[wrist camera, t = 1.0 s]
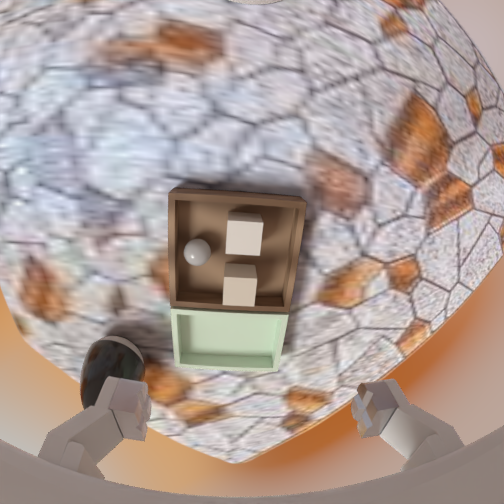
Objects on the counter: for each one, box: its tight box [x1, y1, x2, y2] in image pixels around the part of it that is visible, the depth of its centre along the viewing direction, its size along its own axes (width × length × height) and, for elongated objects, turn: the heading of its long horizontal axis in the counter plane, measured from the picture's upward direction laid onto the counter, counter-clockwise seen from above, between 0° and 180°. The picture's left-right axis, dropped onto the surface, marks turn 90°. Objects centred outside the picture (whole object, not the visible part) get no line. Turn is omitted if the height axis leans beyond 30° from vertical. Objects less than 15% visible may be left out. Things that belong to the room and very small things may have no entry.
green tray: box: [171, 306, 289, 371], centre depth 42 cm, size 11×16×4 cm
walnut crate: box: [168, 188, 307, 312], centre depth 37 cm, size 15×16×4 cm
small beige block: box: [225, 212, 263, 256], centre depth 35 cm, size 4×4×4 cm
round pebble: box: [184, 239, 211, 266], centre depth 36 cm, size 3×3×3 cm
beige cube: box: [223, 263, 257, 307], centre depth 38 cm, size 4×4×4 cm
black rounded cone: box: [80, 336, 145, 410], centre depth 38 cm, size 10×10×15 cm
